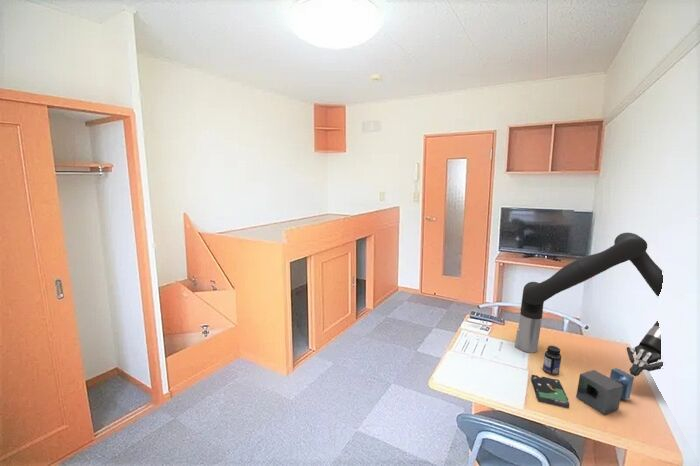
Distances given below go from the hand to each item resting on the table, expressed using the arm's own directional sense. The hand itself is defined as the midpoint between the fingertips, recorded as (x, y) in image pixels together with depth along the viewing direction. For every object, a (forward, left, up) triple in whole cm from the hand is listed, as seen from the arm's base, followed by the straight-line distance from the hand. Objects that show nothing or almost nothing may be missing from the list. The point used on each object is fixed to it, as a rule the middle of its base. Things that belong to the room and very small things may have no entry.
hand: (632, 374), depth 128 cm
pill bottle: (-26, -4, -8) cm, 28 cm away
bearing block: (-10, -16, -8) cm, 21 cm away
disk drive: (-24, -21, -9) cm, 34 cm away
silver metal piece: (-6, -11, -7) cm, 14 cm away
